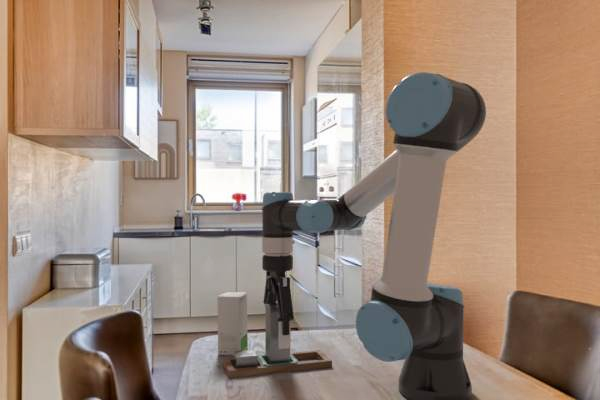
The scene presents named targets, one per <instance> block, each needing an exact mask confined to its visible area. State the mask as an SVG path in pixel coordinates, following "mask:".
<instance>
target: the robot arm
mask: <svg viewBox="0 0 600 400" xmlns="http://www.w3.org/2000/svg"><path fill="white" fill-rule="evenodd" d="M486 108H487V107H486V103H485V100H484V98H483V96H482V95H481V93H480V92H479V90H477V89H476V88H474V87H473V86H471V85H469V84H468V83H464V82H460V81H456V80H454V79H452V78H449V77H446V76H444V75H441V74H439V73H432V72H423V71H420V72H415V73H411V74H409V75H407V76H405V77H404V78H402V79H401V80H400V82H398V83H397V84H396V85H395V86H394V87H393V89H392V90H391V92H390V93H389V96H388V98H387V101H386V105H385V118H386V121H387V123H389V127H390V129H391V130H392V131H393V133H394V136H393V142H392V146H393V148H394V149H395V150H394V151H393V152H392V153H391V154H389V155H388V156H387V157H386V158H385V159H383V160H382V161H381V162H380V163H379V164H378V165H377V166H375V167H374V168H373V169H372V170H371V171H370V172H368V173H367V174H365V175H364V176H363V177H362V178H361V179H359V180H358V181H357V182H356V183H355V184H354V185H353V186H352V187H350V188H349V189H348V190H347V191H345V193H343V194H342V195H341V196H340V197H338V198H337V199H296V200H295V199H294V195H293V193H292V192H290V191H266V192H265V193H264V194H263V196H262V207H261V210H262V212H261V213H262V220H261V222H262V237H261V240H262V241H261V243H262V244H261V245H262V247H261V249H262V251H261V252H262V254H263V255H262V258H261V259H262V261H261V262H262V264H261V267H262V270H263V271H265V272H266V273H265V275H266V277H265V286H264V287H265V288H264V292H263V293H264V296H263V304H264V307H265V308H266V304H275V303H277V304H278V310H279V316H280V318H278V319H277V321H278V322H279V349H285V348H290V349H291V347H292V346H291V343H292V342H291V339H292V338H291V335H292V334H291V326H292V325H291V323H292V322H291V321H292V320H294V319H295V316H294V309H293V308H294V307H293V300H292V293H291V277H289V276H287V277H286V272H290V271H292V270H293V267H294V266H293V264H294V262H293V261H294V257H293V254H292V253H293V249H294V248H293V247H294V246H293V245H294V244H295V240H294V238H293V237H294V232H299V233H300V232H301V233H309V234H319V233H322V234H323V233H325V232H330V231H351V230H354V229H355V230H357V229H359V228H361V227H362V226H363V225H364V224H365V220H366V219H367V215H368V214H370V213H371V212H372V211H373V210H375V209H376V208H378V207H379V206H380V205H381V204H383V203H384V202H386V201H387V200H388V199H389V198H391V197H392V196H393V199H392V206H391V212H390V219H389V226H388V234H387V240H386V245H385V253H384V259H383V260H384V261H383V266H382V273H381V274H382V275H381V277H380V278H378V279H377V280H376V281H374V282H373V283H372V285H371V286H372V287H371V295H370V300H368V301H366V302H365V303H364V304H363V305H362V306H360V307H359V309H358V310H357V313H356V317H355V330H356V334H357V336H358V337H357V338H358V339H359V341H360V342H361V344H362V345H363V348H364V349H365V350H366V352H368V353H369V354H370V355H371V356H372V357H373V358H375V359H377V360H379V361H381V362H385V363H393V362H397V361H403V360H404V361H403V364H402V368H401V372H400V374H399V376H398V392H399V393H400V394H401V395H402V396H404V397H405V398H407V399H408V400H471V399H472V396H473V392H472V391H473V390H472V389H473V387H472V386H473V385H472V382H471V379H470V376H469V373H468V370H467V366H466V364H465V361H464V308H465V304H464V294H463V291H462V290H461V289H460V288H458V287H454V286H450V285H442V284H436V283H433V284H432V283H428V278H429V271H430V266H431V259H432V252H433V247H434V241H435V235H436V229H437V223H438V217H439V216H438V215H439V209H440V205H441V203H440V202H441V196H442V189H443V186H444V185H443V183H444V179H445V178H444V177H445V172H446V165H447V161H448V160H449V159H450V158H451V157H453V156H454V155H456V154H457V153H458V152H459V151H460V150H462V149H463V148H464V147H465V146H467V145H468V144H469V143H470V142H472V140H473V139H475V138H476V137H477V136H478V134H479V133H480V131H481V130H482V128H483V126H484V124H485V122H486V116H487V109H486ZM285 314H287V315H285Z"/></svg>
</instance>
